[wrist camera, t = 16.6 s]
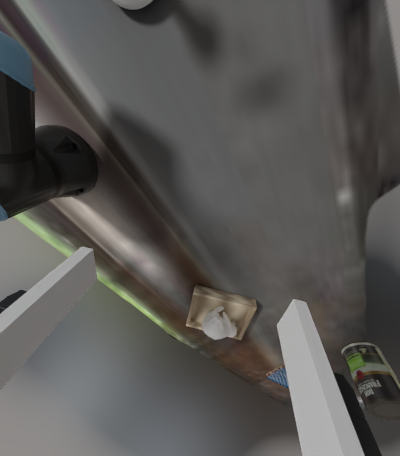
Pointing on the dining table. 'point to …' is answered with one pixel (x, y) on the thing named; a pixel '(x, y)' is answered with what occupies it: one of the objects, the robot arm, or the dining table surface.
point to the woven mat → (279, 375)
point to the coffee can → (373, 379)
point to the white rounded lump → (218, 325)
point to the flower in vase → (132, 3)
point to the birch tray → (233, 307)
